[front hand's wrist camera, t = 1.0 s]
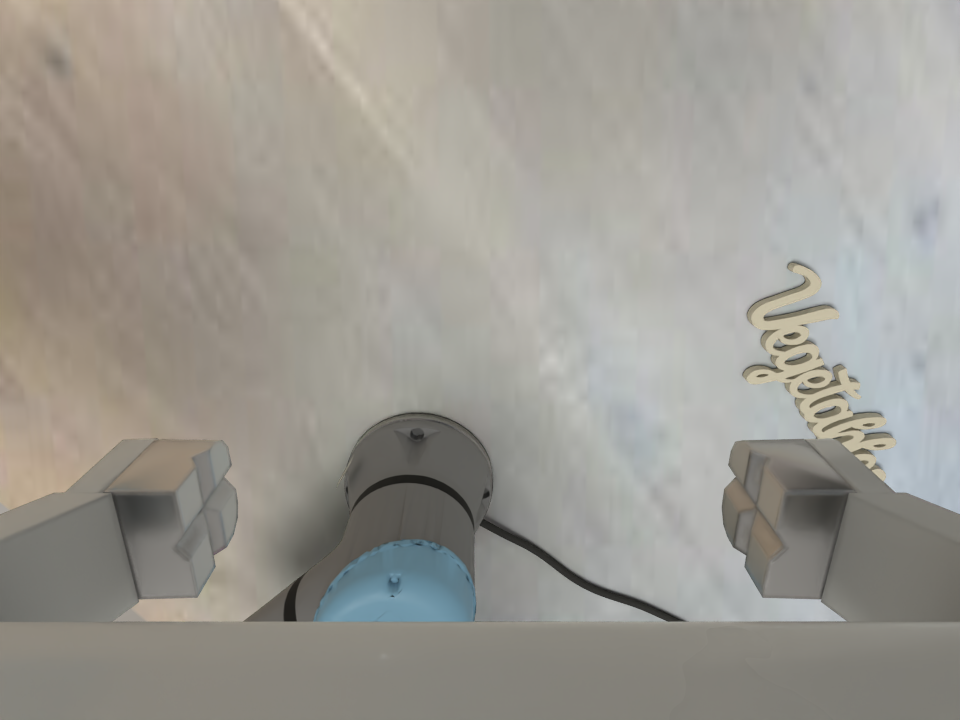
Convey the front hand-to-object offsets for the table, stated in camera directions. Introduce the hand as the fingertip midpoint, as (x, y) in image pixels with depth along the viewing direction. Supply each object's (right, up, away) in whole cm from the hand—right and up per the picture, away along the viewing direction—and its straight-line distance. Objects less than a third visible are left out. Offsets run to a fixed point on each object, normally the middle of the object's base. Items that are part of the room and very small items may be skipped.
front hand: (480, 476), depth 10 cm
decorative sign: (+33, -1, +52) cm, 62 cm away
